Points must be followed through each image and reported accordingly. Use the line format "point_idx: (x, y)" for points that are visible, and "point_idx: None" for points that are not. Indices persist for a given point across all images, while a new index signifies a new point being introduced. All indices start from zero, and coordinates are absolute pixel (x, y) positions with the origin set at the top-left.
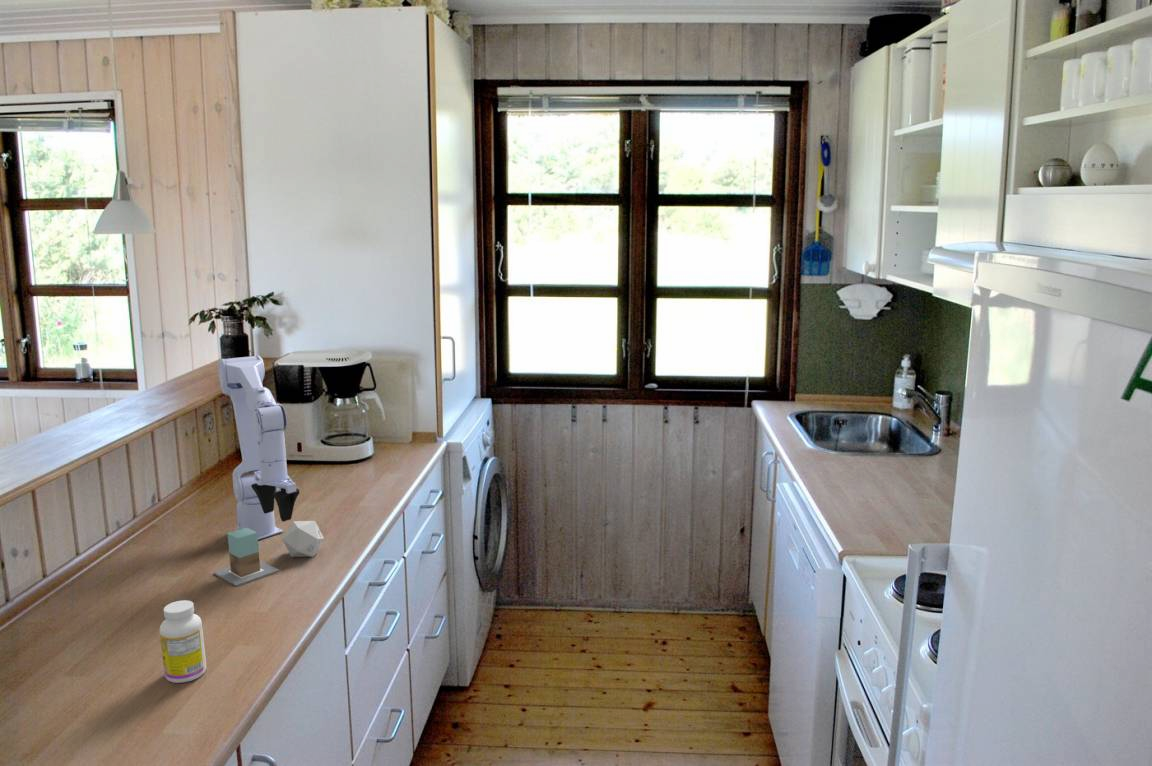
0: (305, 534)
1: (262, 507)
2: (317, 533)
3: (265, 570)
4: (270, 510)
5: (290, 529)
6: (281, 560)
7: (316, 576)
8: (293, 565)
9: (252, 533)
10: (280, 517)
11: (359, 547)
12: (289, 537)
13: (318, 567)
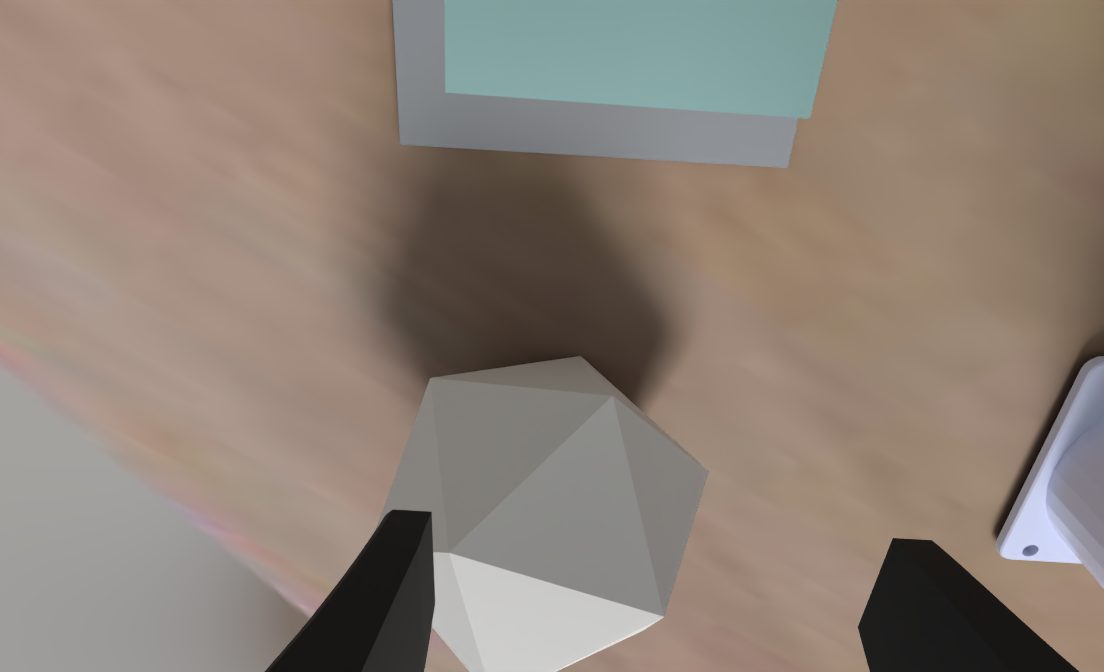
0: None
1: (975, 604)
2: None
3: None
4: (878, 619)
5: (592, 518)
6: (587, 278)
7: (117, 263)
8: (429, 278)
9: (463, 7)
10: (414, 543)
11: None
12: (532, 438)
13: (263, 358)
